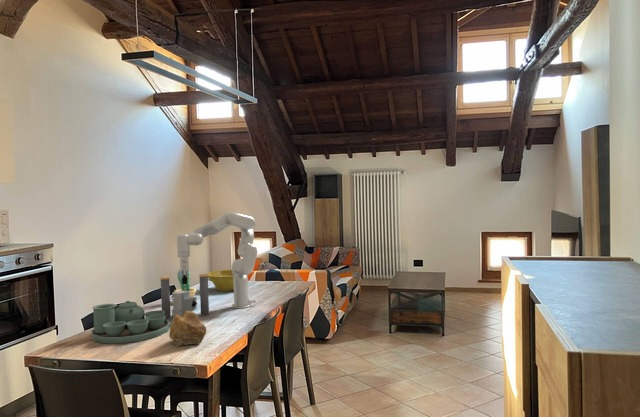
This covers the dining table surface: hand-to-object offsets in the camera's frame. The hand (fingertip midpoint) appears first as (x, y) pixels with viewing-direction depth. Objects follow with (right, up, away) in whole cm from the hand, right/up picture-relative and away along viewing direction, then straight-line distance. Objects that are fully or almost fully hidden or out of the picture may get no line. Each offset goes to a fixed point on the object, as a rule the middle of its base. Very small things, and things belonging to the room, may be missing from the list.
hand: (184, 283), depth 291 cm
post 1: (-10, -21, -3) cm, 23 cm away
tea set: (-19, -22, -33) cm, 44 cm away
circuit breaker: (+1, -20, 0) cm, 20 cm away
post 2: (+12, -20, +4) cm, 23 cm away
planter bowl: (+10, -18, +83) cm, 86 cm away
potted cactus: (-12, -20, +43) cm, 48 cm away
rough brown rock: (+18, -21, -54) cm, 61 cm away
